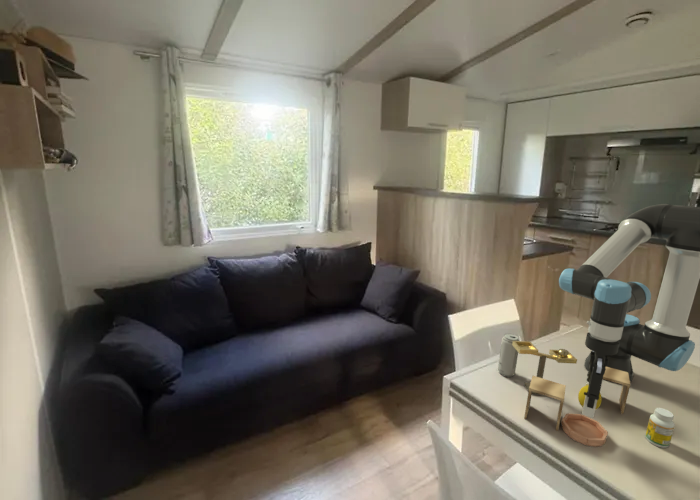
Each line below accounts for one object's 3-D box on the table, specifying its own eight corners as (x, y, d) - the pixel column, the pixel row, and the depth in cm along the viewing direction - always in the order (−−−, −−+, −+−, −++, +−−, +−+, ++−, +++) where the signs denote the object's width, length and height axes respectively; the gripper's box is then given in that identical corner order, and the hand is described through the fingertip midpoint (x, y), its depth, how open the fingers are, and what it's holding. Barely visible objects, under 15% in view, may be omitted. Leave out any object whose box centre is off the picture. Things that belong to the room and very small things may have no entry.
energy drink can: (498, 367, 140) (503, 331, 136) (515, 371, 137) (521, 335, 133) (496, 374, 134) (501, 337, 131) (513, 379, 132) (519, 342, 128)
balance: (560, 386, 128) (568, 343, 124) (569, 396, 122) (578, 352, 118) (506, 383, 129) (512, 340, 125) (513, 394, 123) (520, 349, 119)
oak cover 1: (559, 415, 113) (565, 385, 110) (558, 431, 107) (564, 399, 104) (527, 404, 118) (532, 375, 115) (524, 418, 111) (529, 387, 109)
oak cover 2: (621, 401, 121) (628, 372, 119) (623, 414, 115) (630, 384, 112) (588, 391, 126) (594, 363, 123) (588, 403, 119) (595, 374, 117)
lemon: (593, 405, 106) (598, 381, 105) (602, 418, 101) (607, 393, 99) (572, 402, 107) (577, 378, 106) (580, 414, 102) (585, 390, 100)
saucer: (590, 420, 111) (591, 414, 111) (614, 447, 101) (616, 441, 100) (554, 418, 112) (555, 412, 111) (574, 445, 101) (576, 439, 100)
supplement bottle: (669, 451, 100) (677, 421, 98) (644, 441, 103) (652, 412, 101) (668, 440, 104) (676, 411, 102) (645, 431, 107) (652, 403, 105)
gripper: (587, 321, 108) (573, 389, 114) (587, 345, 93) (571, 422, 99) (618, 327, 104) (602, 397, 110) (622, 354, 89) (604, 434, 95)
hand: (587, 409), depth 104 cm, fingers closed on lemon, 5 cm apart
